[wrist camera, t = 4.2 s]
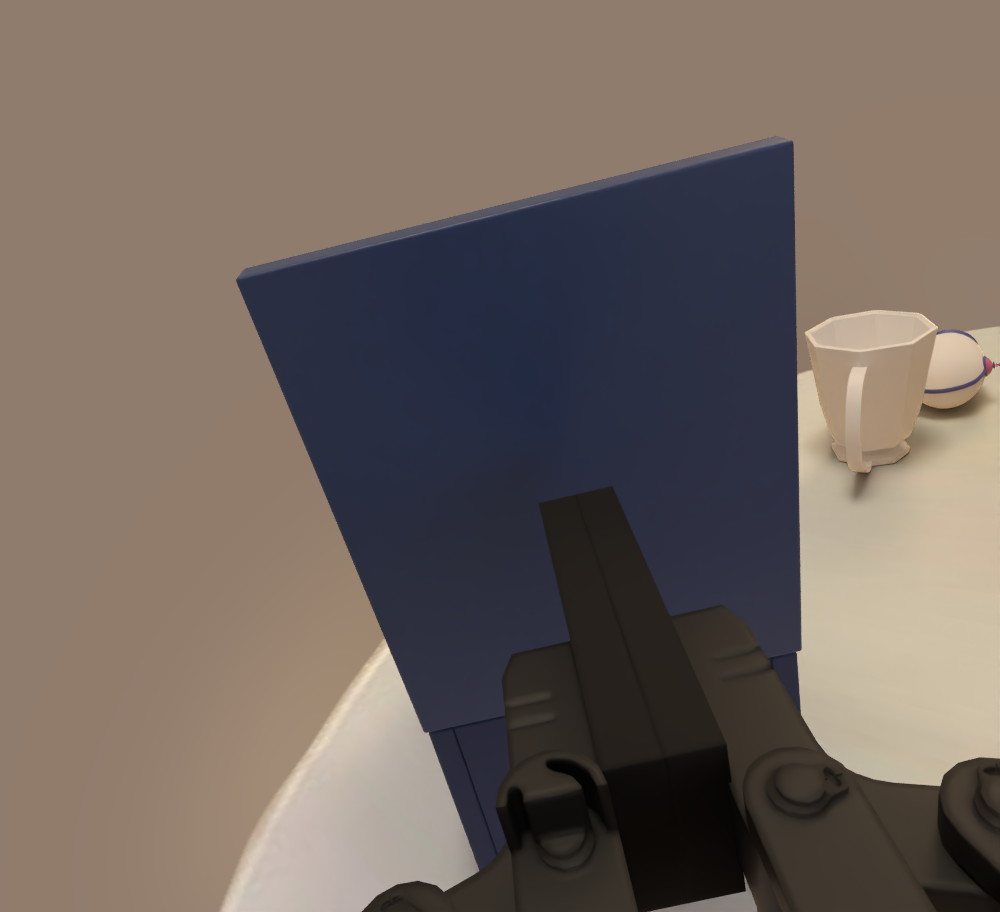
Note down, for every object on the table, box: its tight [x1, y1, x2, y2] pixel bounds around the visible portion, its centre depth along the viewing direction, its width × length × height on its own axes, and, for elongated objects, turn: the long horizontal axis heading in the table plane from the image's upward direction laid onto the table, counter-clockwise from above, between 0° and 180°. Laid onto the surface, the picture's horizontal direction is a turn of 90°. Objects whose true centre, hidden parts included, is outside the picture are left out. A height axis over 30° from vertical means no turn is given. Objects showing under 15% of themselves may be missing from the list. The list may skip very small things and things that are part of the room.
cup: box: [805, 310, 938, 473], centre depth 43 cm, size 7×10×8 cm
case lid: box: [236, 136, 801, 733], centre depth 19 cm, size 14×12×1 cm
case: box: [429, 652, 801, 870], centre depth 30 cm, size 14×12×8 cm
